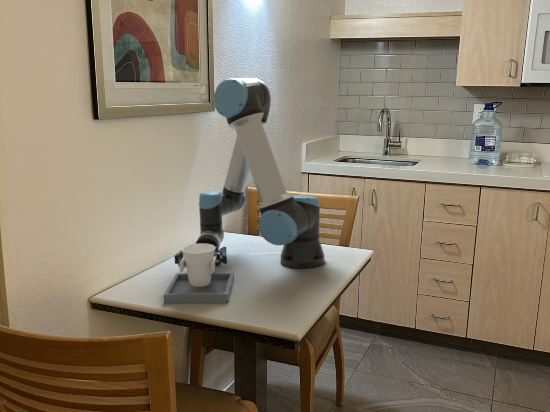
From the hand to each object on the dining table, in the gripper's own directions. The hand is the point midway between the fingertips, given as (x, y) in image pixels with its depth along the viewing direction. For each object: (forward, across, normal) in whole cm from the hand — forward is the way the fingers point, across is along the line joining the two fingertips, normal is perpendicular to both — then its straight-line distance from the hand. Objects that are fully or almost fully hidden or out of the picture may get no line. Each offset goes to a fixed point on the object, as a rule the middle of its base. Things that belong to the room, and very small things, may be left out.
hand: (196, 268), depth 156 cm
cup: (-5, 0, -7) cm, 8 cm away
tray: (-5, 0, -9) cm, 10 cm away
